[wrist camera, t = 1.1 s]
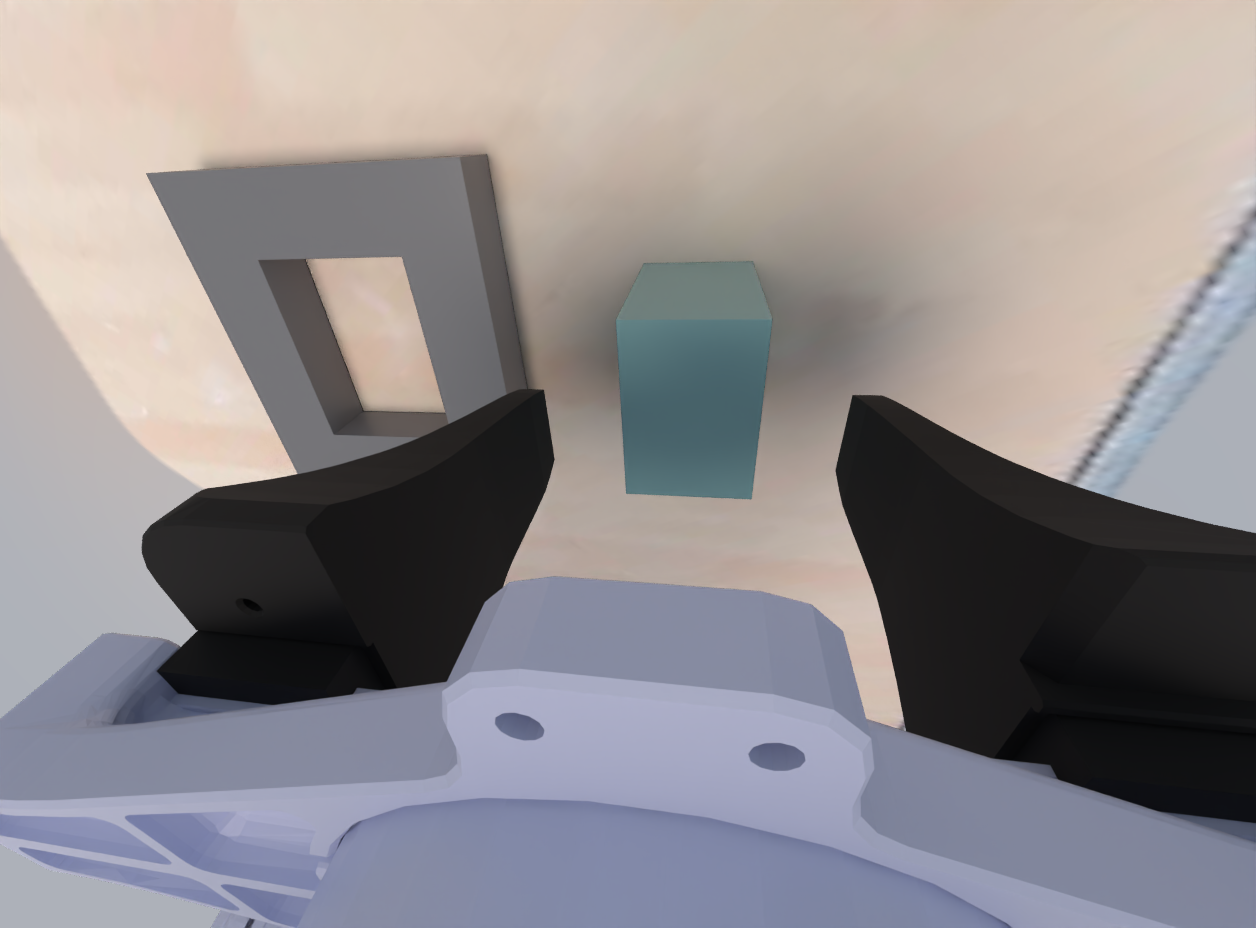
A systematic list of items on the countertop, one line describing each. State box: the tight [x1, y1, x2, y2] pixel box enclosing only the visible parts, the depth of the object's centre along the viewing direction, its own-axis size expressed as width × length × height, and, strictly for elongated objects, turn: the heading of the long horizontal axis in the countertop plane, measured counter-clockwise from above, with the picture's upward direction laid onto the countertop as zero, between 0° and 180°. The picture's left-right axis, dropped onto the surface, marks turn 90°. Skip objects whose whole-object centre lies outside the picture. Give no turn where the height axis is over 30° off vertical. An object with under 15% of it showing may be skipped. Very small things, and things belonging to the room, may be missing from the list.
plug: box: [616, 261, 772, 499], centre depth 15 cm, size 5×4×6 cm
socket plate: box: [146, 155, 527, 474], centre depth 18 cm, size 12×10×2 cm
